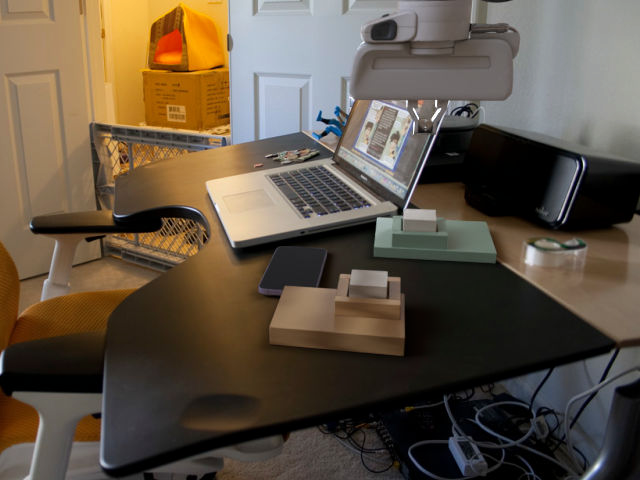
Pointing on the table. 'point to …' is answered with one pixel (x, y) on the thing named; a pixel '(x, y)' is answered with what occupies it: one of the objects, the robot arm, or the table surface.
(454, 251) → the tiered green tray
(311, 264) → the smartphone
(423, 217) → the key back
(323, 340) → the wooden platform
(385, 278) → the key front
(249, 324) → the table surface
